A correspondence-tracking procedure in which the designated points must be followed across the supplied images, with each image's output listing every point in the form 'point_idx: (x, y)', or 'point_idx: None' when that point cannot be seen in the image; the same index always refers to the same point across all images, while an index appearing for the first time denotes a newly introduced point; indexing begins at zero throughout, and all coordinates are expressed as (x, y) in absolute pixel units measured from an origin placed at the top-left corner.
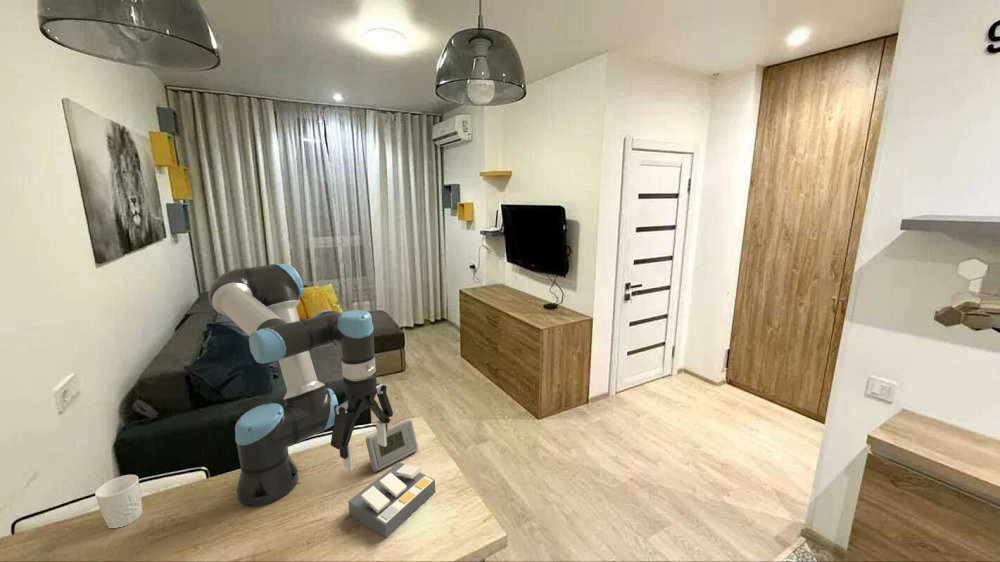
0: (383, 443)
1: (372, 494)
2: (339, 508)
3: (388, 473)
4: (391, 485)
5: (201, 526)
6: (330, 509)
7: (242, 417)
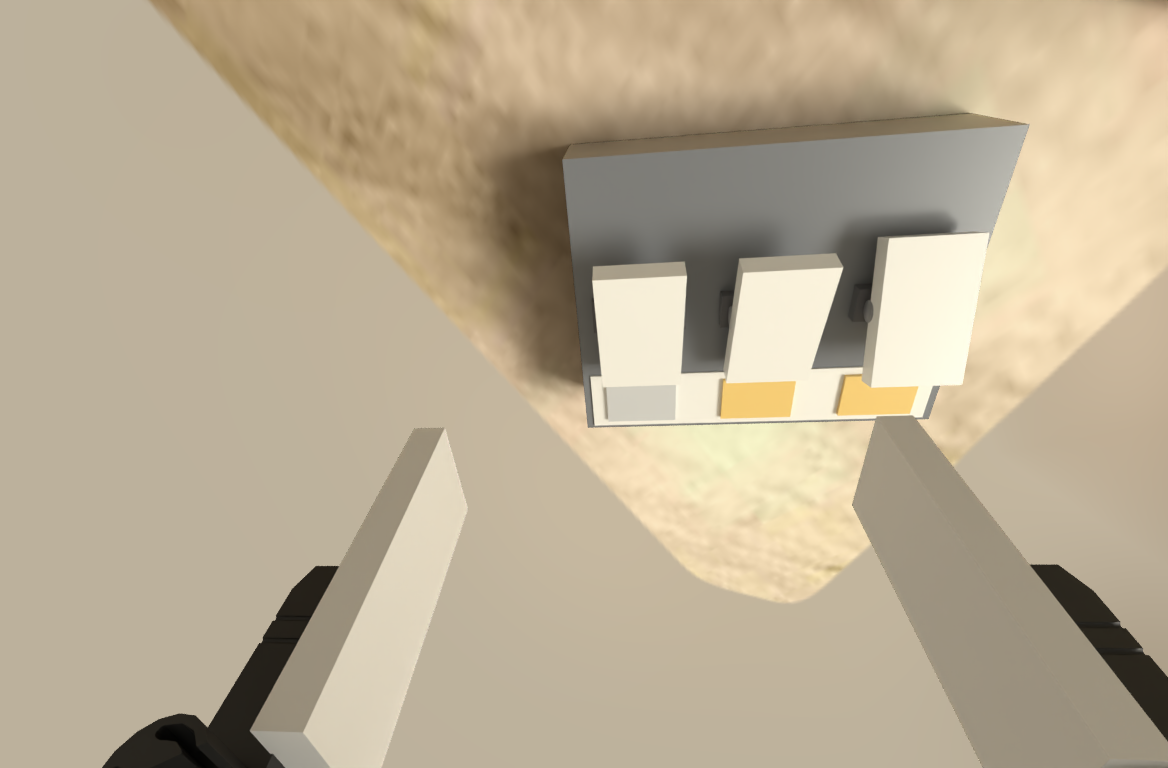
0: (869, 524)
1: (641, 315)
2: (557, 48)
3: (880, 162)
4: (758, 335)
5: None
6: (518, 3)
7: None
